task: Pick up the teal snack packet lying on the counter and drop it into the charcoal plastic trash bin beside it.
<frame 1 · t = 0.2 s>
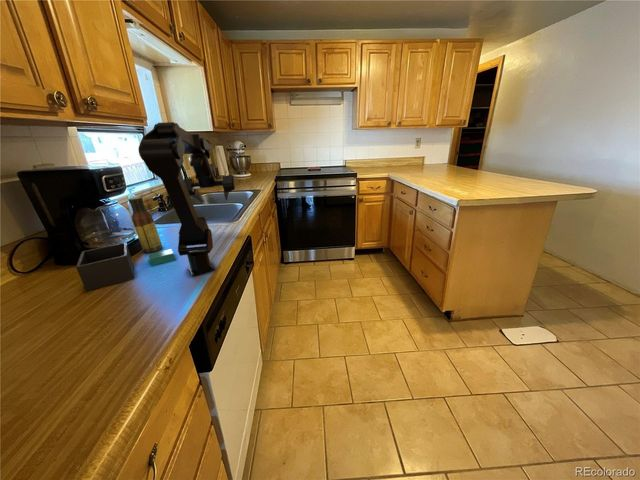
hand: (214, 200, 105), 15 cm above the countertop, tool tilted 30°, fingers open, 9 cm apart
sauce bottle: (152, 250, 99), on the countertop
trash bin: (112, 275, 81), on the countertop
packet: (162, 260, 90), on the countertop
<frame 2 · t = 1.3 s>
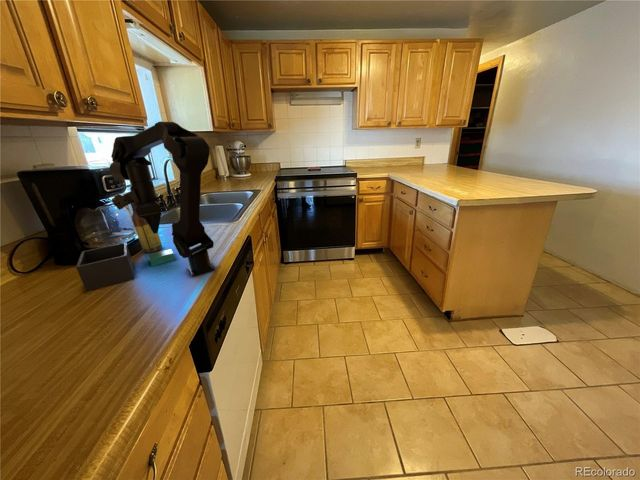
hand: (155, 229, 86), 11 cm above the countertop, tool pointing down, fingers open, 9 cm apart
nothing on the countertop moved.
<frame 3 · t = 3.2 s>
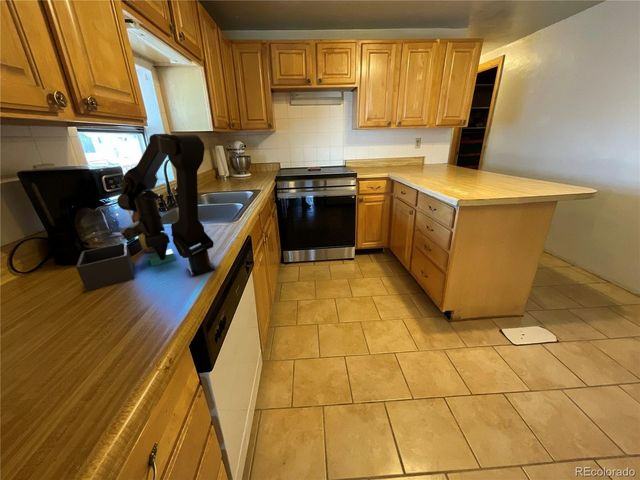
hand: (161, 257, 89), 1 cm above the countertop, tool pointing down, fingers closed on packet, 5 cm apart
packet: (162, 260, 90), on the countertop, touching gripper
everything else where it was.
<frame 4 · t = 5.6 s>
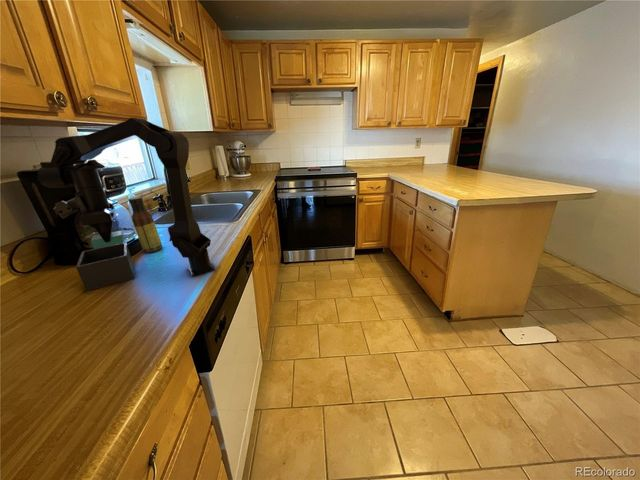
hand: (108, 239, 78), 11 cm above the countertop, tool pointing down, fingers closed on packet, 5 cm apart
packet: (109, 243, 79), point 10 cm above the countertop, touching gripper
everything else where it was.
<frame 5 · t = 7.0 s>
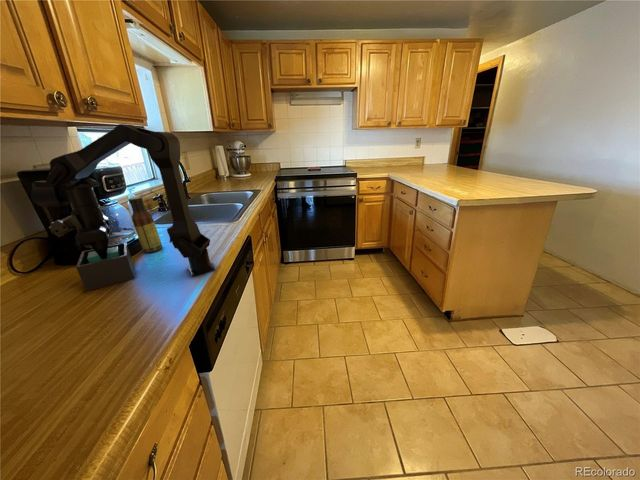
hand: (104, 255, 78), 7 cm above the countertop, tool pointing down, fingers closed on packet, 5 cm apart
packet: (106, 259, 79), point 6 cm above the countertop, touching gripper
everything else where it was.
when the fingers open (4 cm above the countertop, at t = 8.0 s): packet drops 3 cm, resting on trash bin.
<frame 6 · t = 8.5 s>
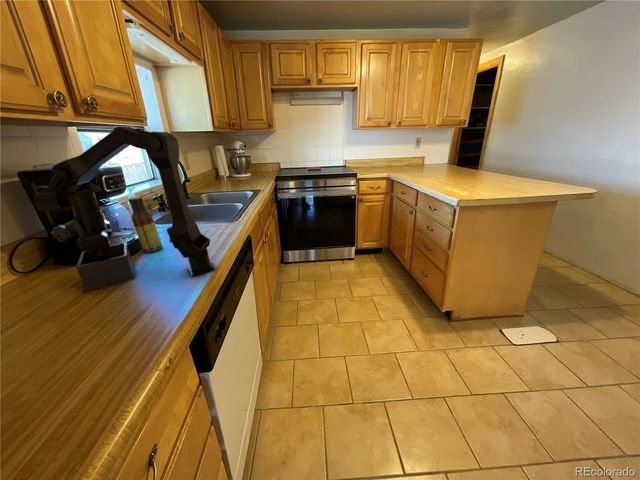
hand: (105, 260, 79), 5 cm above the countertop, tool pointing down, fingers open, 9 cm apart
packet: (111, 274, 81), resting on trash bin
everything else where it was.
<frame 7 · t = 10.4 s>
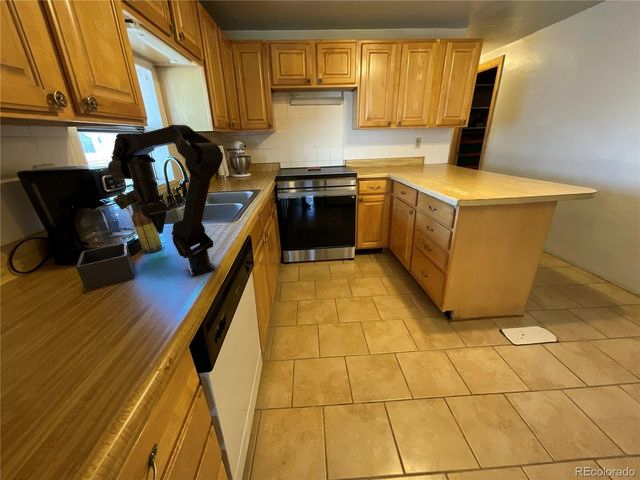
hand: (158, 229, 83), 12 cm above the countertop, tool pointing down, fingers open, 9 cm apart
nothing on the countertop moved.
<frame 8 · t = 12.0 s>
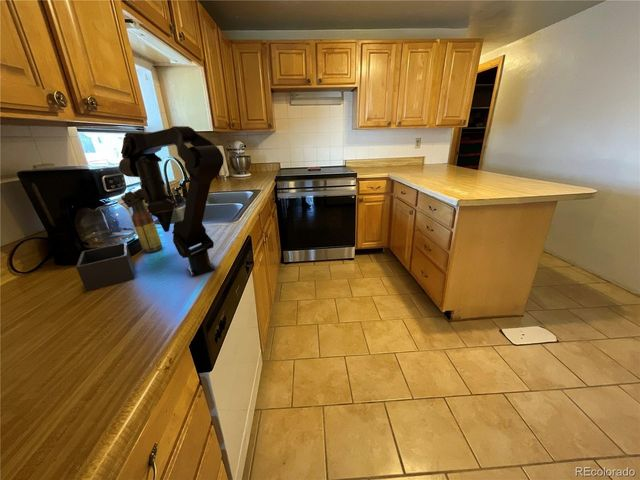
hand: (164, 227, 84), 12 cm above the countertop, tool pointing down, fingers open, 9 cm apart
nothing on the countertop moved.
at the end: packet inside the target area in the trash bin (0.0 cm from its centre), point 0.5 cm above the trash bin's base; the gripper is holding nothing; sauce bottle moved 0.2 cm from its start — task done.
